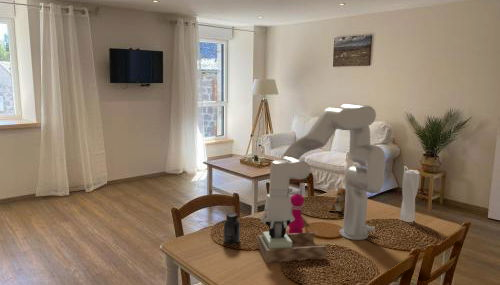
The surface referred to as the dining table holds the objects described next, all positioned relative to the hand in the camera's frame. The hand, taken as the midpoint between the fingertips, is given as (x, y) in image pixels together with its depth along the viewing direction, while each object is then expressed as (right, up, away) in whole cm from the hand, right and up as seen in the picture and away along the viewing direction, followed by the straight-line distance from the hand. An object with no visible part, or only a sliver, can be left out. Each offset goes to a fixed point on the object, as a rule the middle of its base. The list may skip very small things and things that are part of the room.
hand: (277, 236), depth 148 cm
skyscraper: (+68, -3, +41) cm, 79 cm away
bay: (+6, -7, +2) cm, 9 cm away
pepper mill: (+10, -4, +21) cm, 24 cm away
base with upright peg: (0, -6, +1) cm, 6 cm away
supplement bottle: (-19, -5, +12) cm, 23 cm away
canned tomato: (+12, -1, +43) cm, 44 cm away
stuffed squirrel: (+39, 0, +53) cm, 66 cm away
